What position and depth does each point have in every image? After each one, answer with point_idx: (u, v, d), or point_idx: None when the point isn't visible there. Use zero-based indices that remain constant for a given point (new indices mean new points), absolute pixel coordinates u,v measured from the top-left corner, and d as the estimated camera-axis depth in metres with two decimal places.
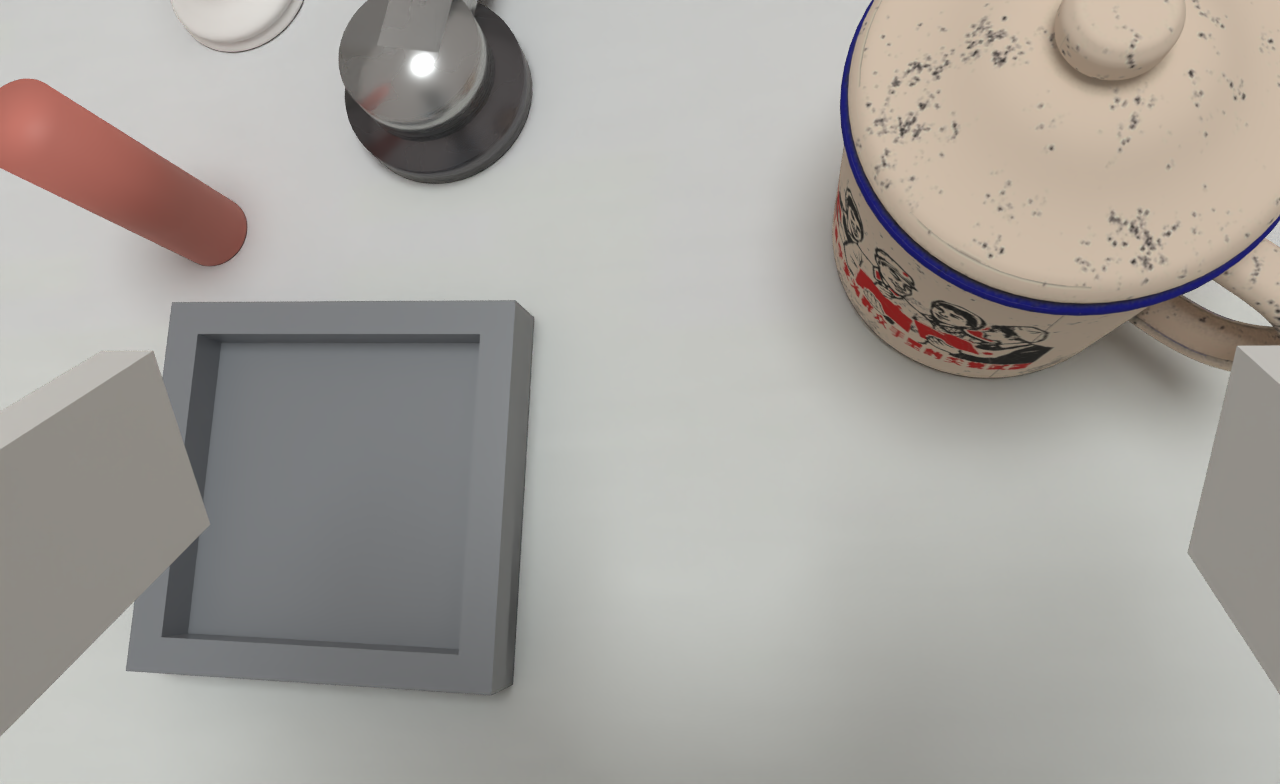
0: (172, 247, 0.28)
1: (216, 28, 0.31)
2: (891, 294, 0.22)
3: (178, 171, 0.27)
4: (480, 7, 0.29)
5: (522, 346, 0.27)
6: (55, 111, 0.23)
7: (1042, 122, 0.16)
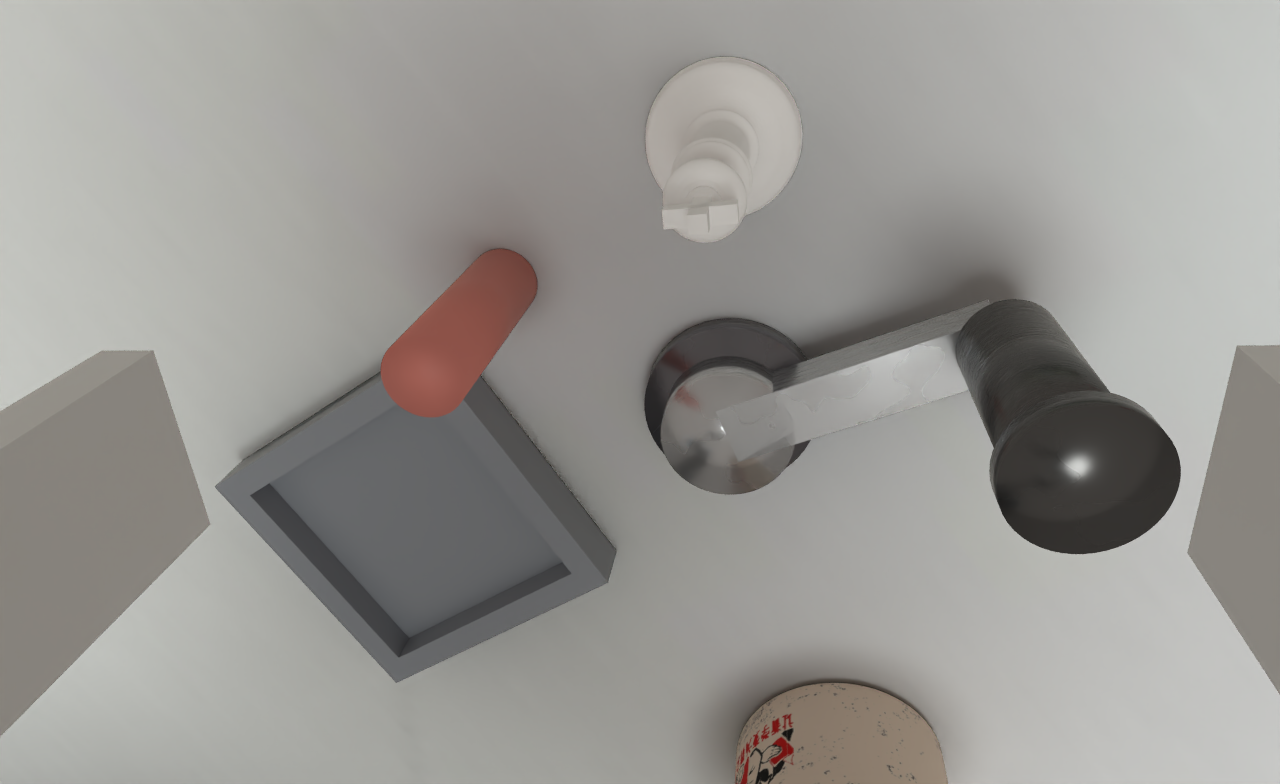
0: None
1: (662, 176, 0.28)
2: None
3: (510, 329, 0.29)
4: None
5: None
6: (454, 402, 0.25)
7: None
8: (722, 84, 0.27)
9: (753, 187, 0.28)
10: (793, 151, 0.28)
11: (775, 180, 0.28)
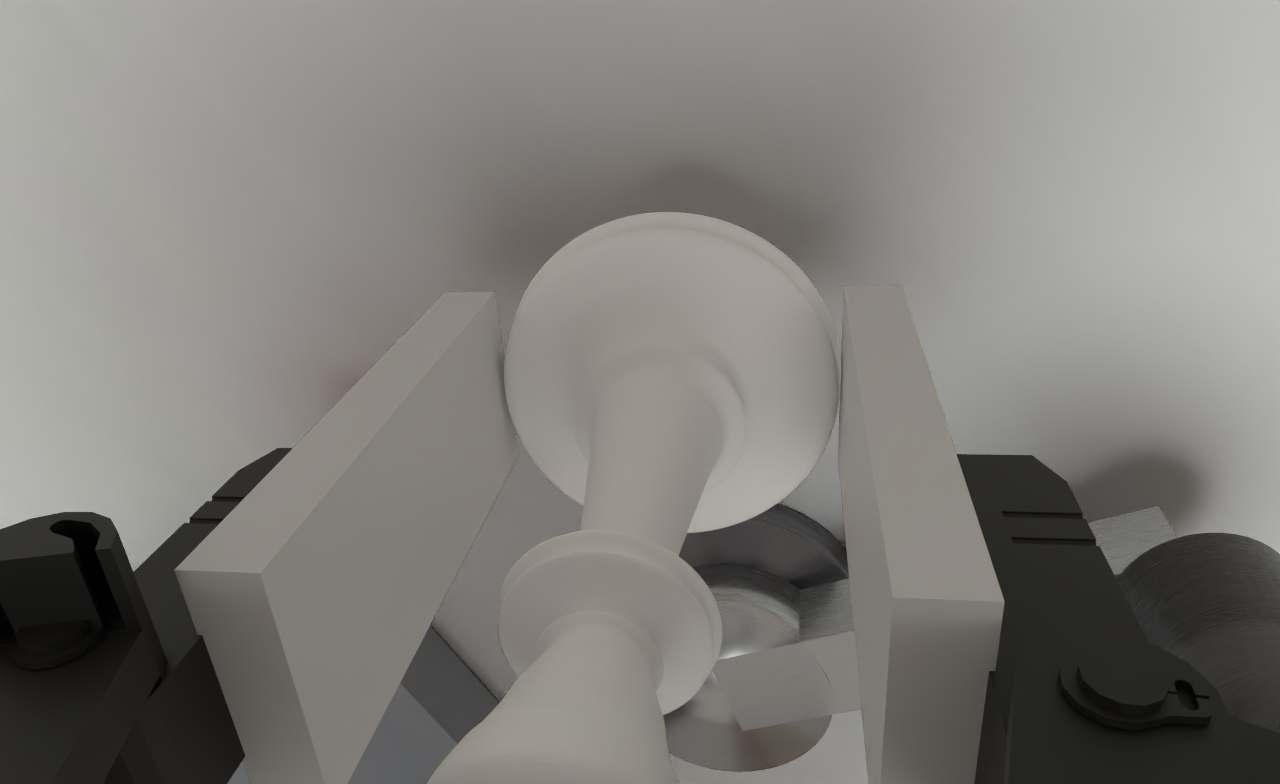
0: None
1: (540, 452, 0.13)
2: None
3: None
4: None
5: None
6: None
7: None
8: (664, 283, 0.12)
9: (734, 488, 0.13)
10: (821, 420, 0.13)
11: (783, 475, 0.13)
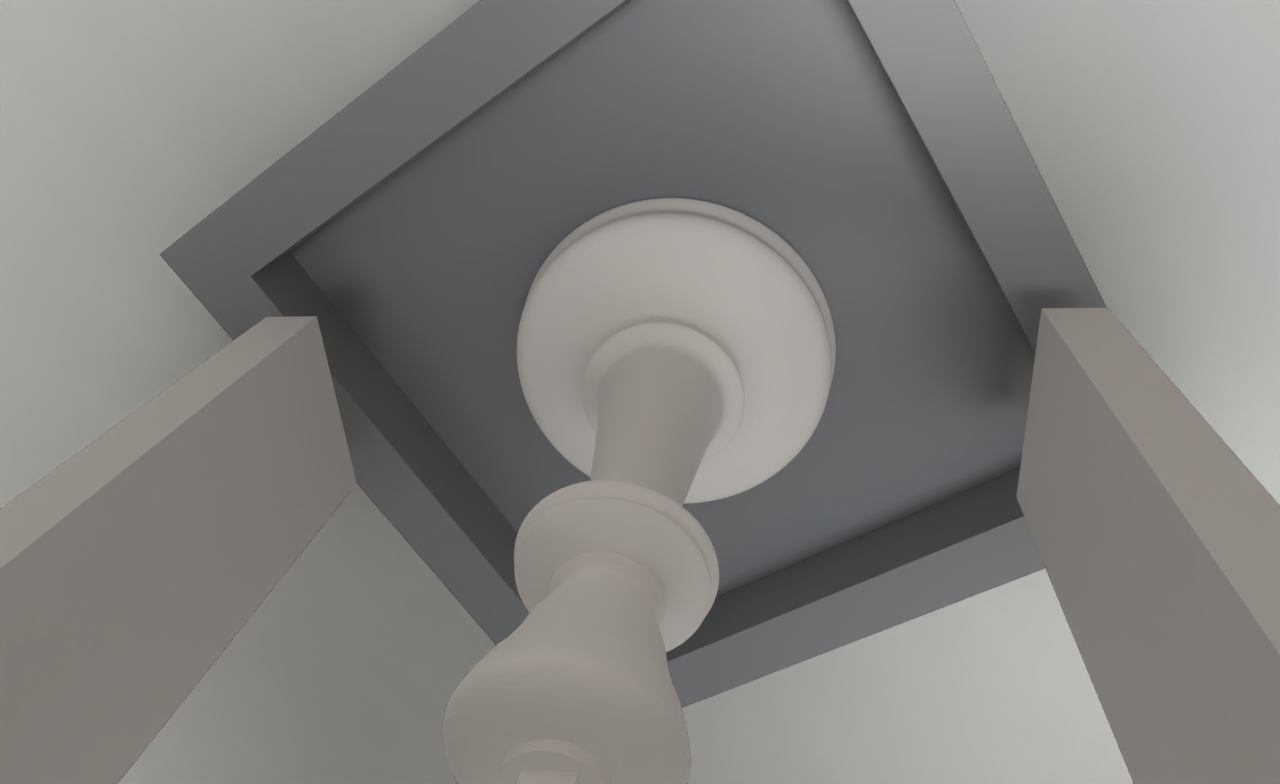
0: None
1: (551, 426, 0.14)
2: None
3: None
4: None
5: None
6: None
7: None
8: (668, 263, 0.13)
9: (733, 459, 0.14)
10: (816, 394, 0.13)
11: (780, 446, 0.14)
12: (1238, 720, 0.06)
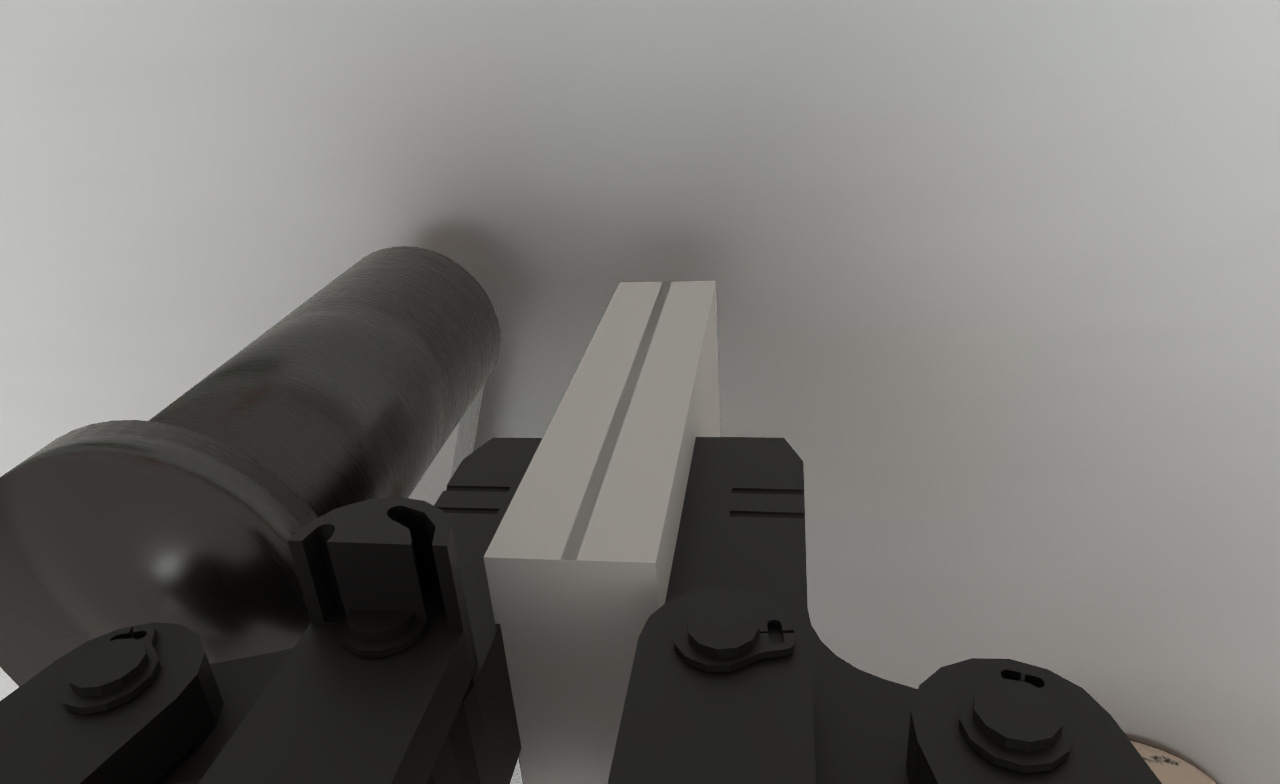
0: None
1: None
2: None
3: None
4: None
5: None
6: None
7: None
8: None
9: None
10: None
11: None
12: None
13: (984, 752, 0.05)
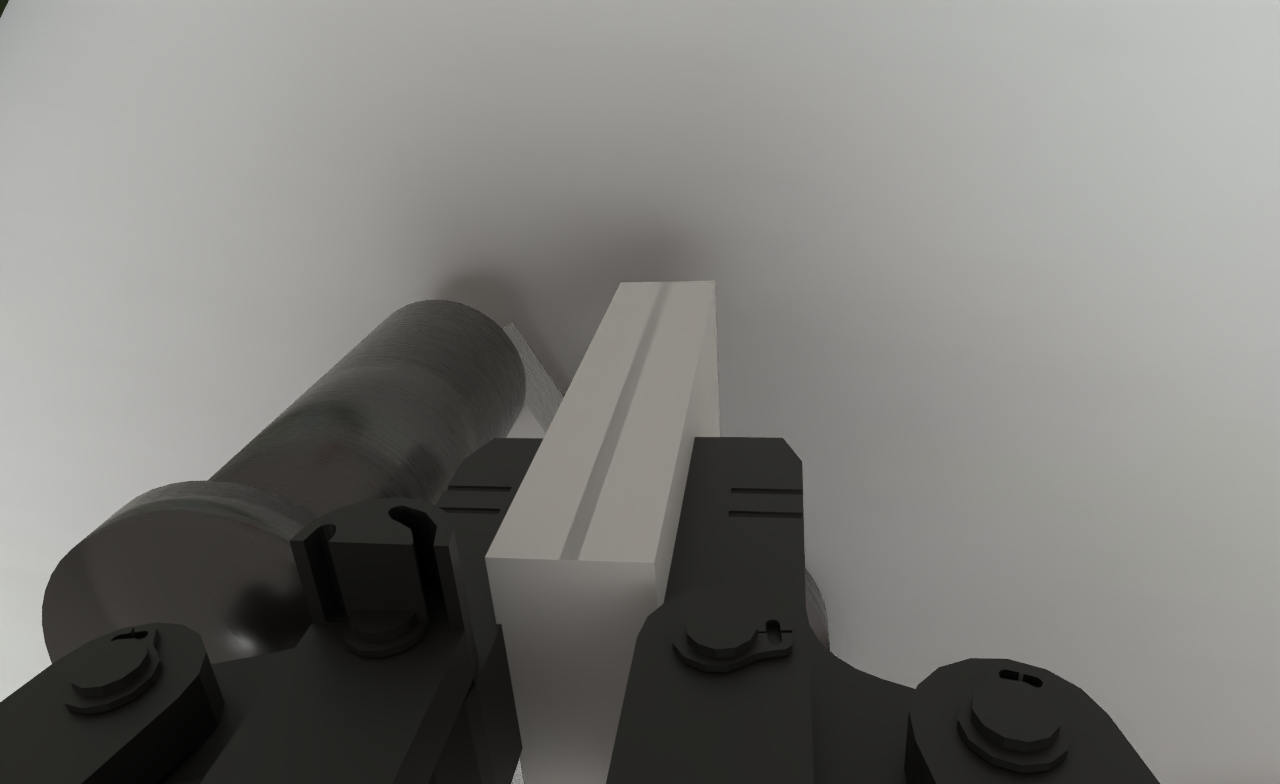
0: None
1: None
2: None
3: None
4: None
5: None
6: None
7: None
8: None
9: None
10: None
11: None
12: None
13: (982, 752, 0.05)
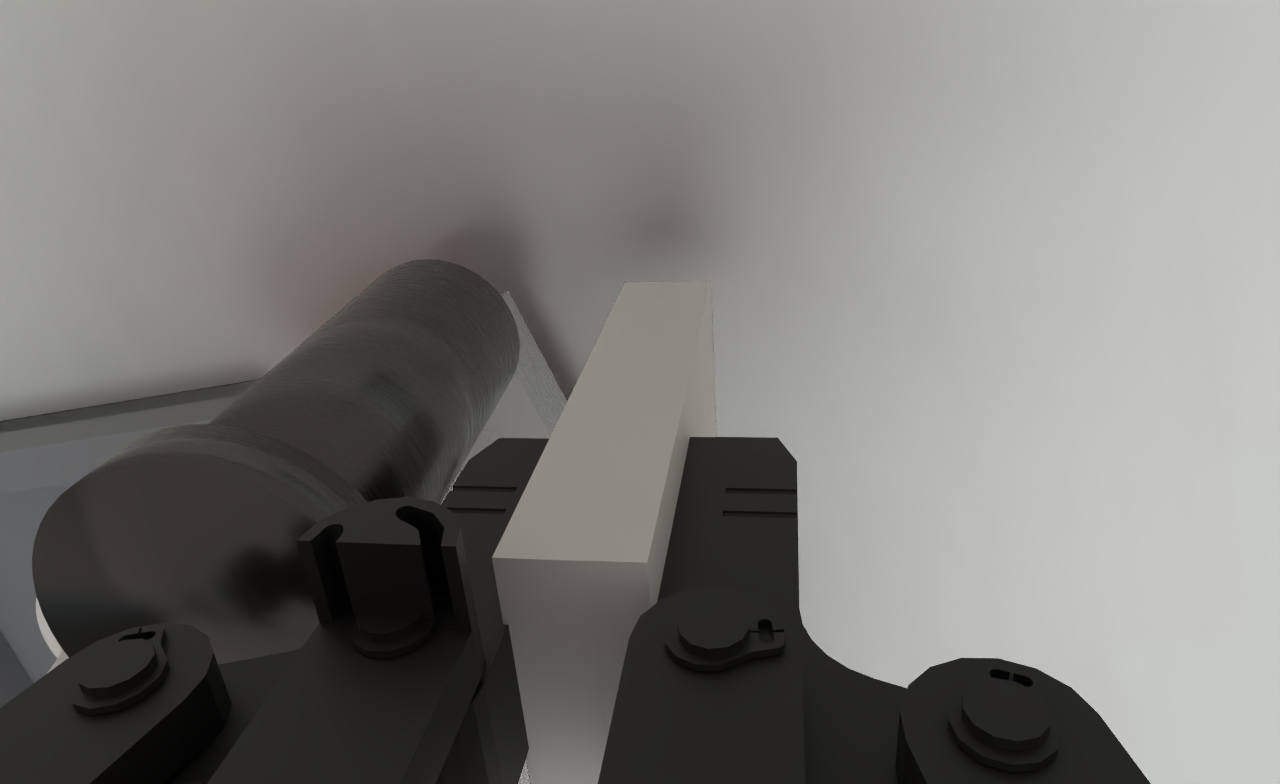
0: None
1: (47, 641, 0.23)
2: None
3: None
4: None
5: None
6: None
7: None
8: None
9: None
10: None
11: None
12: None
13: (973, 751, 0.05)
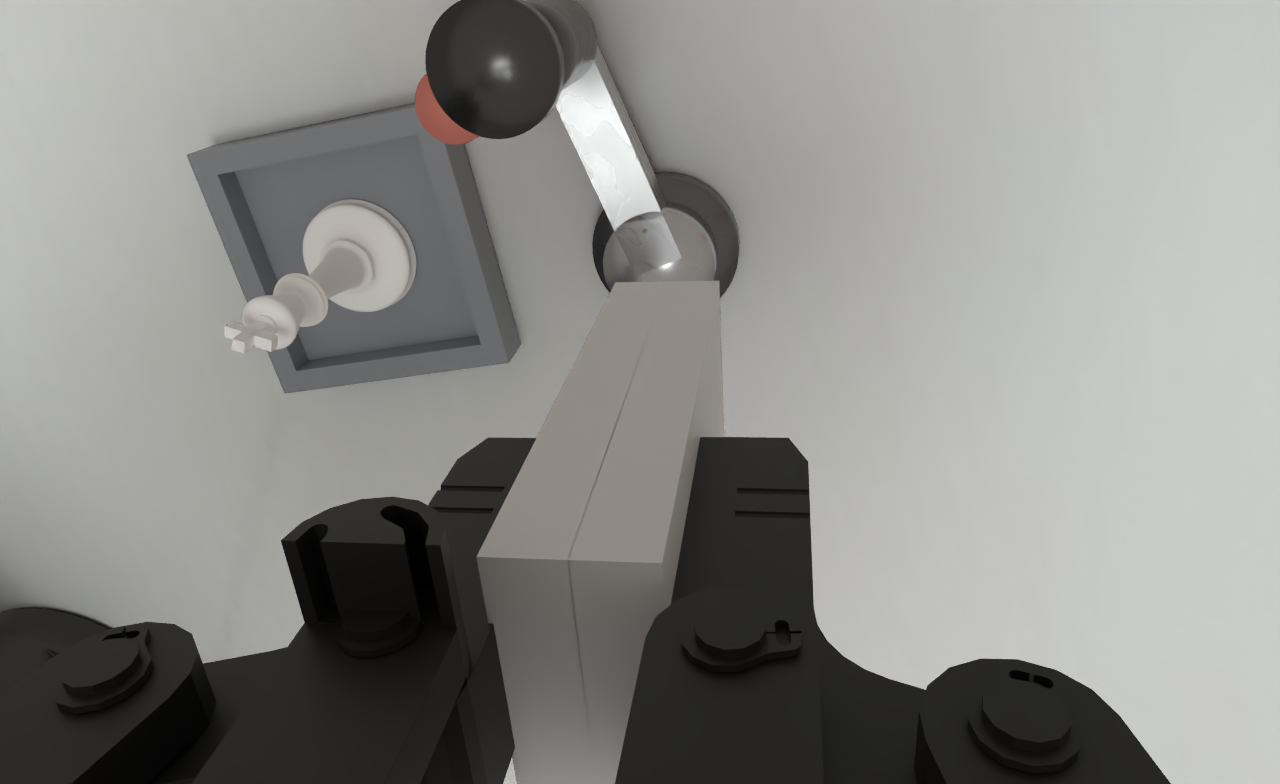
0: None
1: (308, 264, 0.39)
2: None
3: None
4: (731, 275, 0.37)
5: None
6: (469, 136, 0.29)
7: None
8: (361, 224, 0.38)
9: (367, 297, 0.39)
10: (400, 285, 0.39)
11: (384, 298, 0.39)
12: None
13: (993, 752, 0.05)
